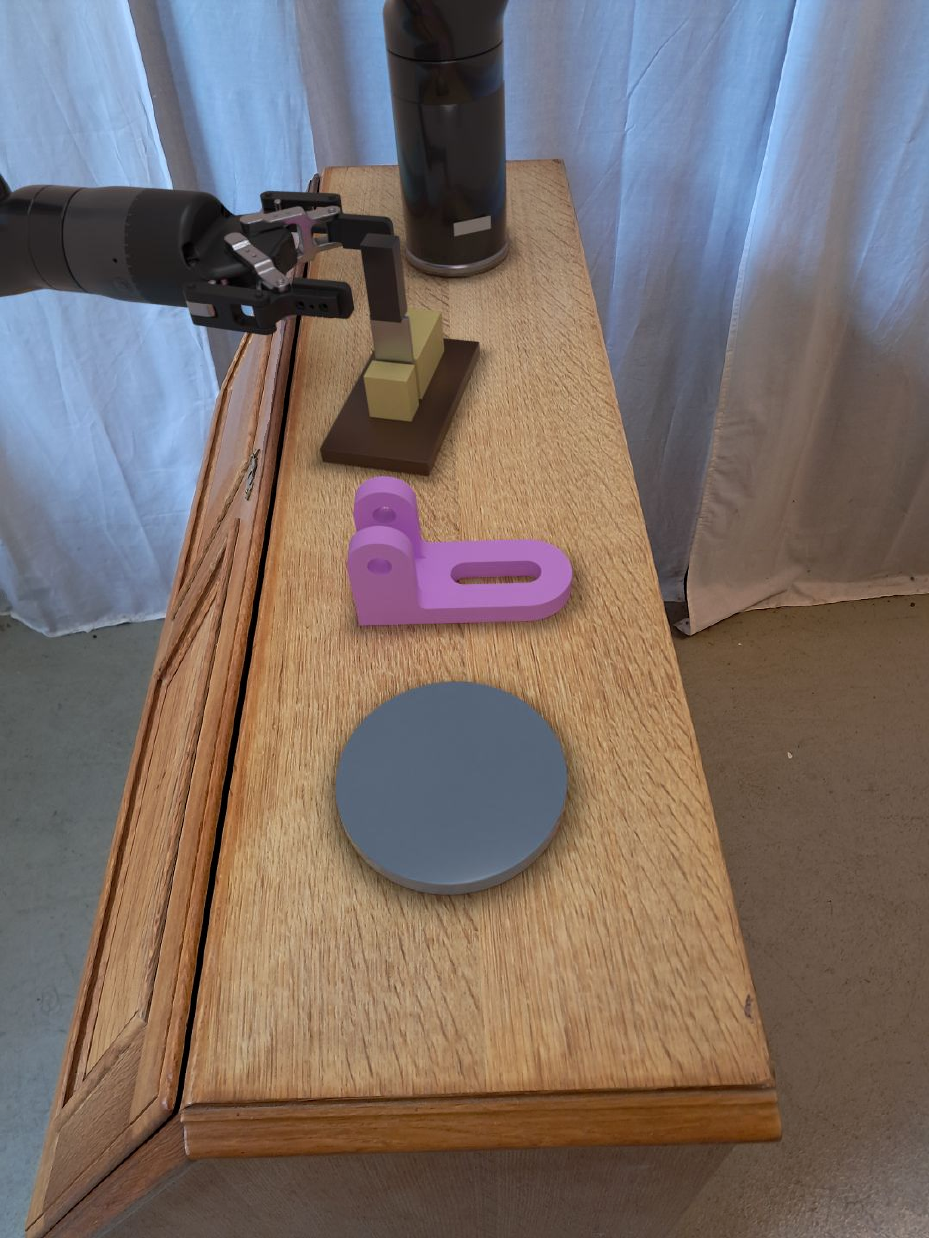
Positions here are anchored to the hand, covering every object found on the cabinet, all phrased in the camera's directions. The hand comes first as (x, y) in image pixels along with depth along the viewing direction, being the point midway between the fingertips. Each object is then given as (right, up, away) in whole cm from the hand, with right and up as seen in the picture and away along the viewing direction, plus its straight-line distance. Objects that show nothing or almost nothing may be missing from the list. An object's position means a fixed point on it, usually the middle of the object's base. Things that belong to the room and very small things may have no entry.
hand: (372, 266), depth 60 cm
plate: (+5, -32, -12) cm, 35 cm away
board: (+2, -7, +9) cm, 12 cm away
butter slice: (+1, -8, +7) cm, 11 cm away
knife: (+1, -7, +8) cm, 11 cm away
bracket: (+6, -21, -3) cm, 22 cm away
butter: (+2, -4, +10) cm, 11 cm away
